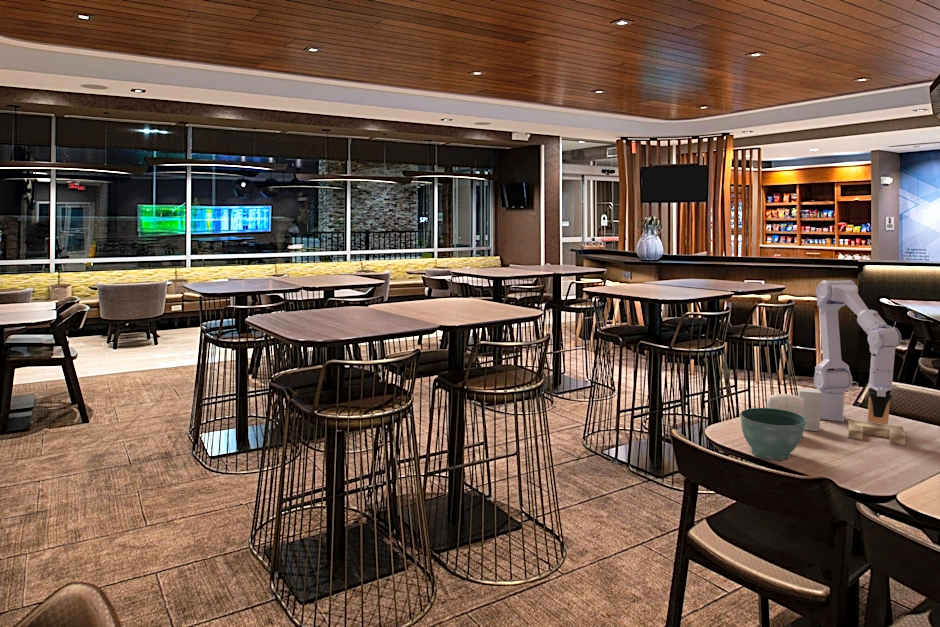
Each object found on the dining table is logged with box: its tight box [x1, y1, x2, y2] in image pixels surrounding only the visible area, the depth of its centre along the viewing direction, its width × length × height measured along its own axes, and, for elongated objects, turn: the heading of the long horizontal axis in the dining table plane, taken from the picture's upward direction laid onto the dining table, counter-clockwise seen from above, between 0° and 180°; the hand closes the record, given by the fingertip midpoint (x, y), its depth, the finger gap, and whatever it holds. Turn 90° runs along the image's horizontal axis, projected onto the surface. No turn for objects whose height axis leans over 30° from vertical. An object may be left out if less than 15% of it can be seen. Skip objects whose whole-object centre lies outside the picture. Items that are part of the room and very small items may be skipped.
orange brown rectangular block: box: [867, 395, 891, 425], centre depth 200 cm, size 5×3×7 cm, turn 62°
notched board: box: [847, 419, 907, 446], centre depth 203 cm, size 14×11×2 cm
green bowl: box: [740, 407, 806, 461], centre depth 187 cm, size 16×16×11 cm
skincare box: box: [797, 388, 822, 432], centre depth 210 cm, size 6×4×12 cm
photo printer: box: [766, 393, 805, 417], centre depth 204 cm, size 10×4×12 cm, turn 73°
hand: (877, 415), depth 200 cm, fingers closed on orange brown rectangular block, 3 cm apart
